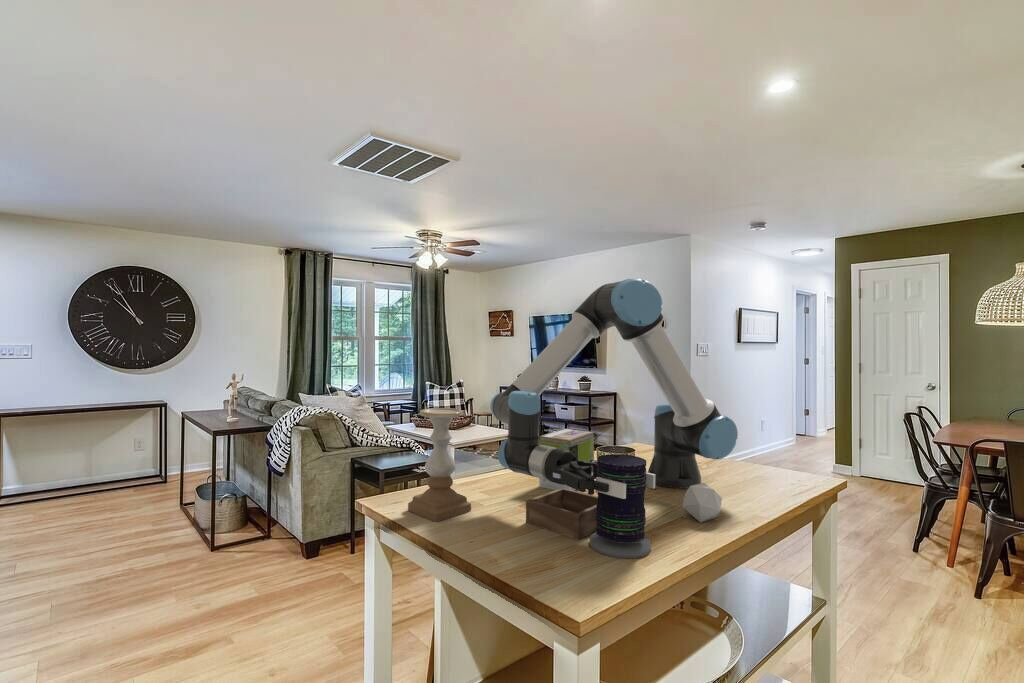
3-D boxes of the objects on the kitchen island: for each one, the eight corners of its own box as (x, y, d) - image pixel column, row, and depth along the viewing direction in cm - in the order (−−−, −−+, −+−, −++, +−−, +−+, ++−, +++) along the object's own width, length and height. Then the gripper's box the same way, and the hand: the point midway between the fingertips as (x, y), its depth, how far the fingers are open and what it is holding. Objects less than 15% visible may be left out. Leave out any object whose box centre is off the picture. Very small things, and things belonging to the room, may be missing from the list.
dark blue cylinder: (654, 541, 99) (656, 464, 99) (606, 545, 97) (608, 466, 97) (632, 523, 109) (633, 453, 109) (588, 526, 107) (589, 454, 107)
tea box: (564, 476, 156) (565, 427, 156) (594, 482, 150) (595, 431, 150) (537, 487, 144) (538, 434, 144) (569, 494, 138) (570, 439, 138)
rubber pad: (608, 530, 112) (609, 525, 112) (661, 545, 104) (661, 540, 104) (578, 546, 103) (578, 541, 103) (633, 564, 95) (633, 559, 95)
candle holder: (406, 510, 122) (408, 410, 122) (442, 500, 130) (444, 406, 130) (435, 522, 115) (437, 415, 115) (472, 510, 123) (474, 411, 123)
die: (699, 512, 127) (677, 481, 126) (732, 502, 122) (708, 469, 121) (695, 534, 120) (671, 502, 119) (729, 524, 115) (704, 490, 115)
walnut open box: (561, 508, 126) (562, 487, 126) (612, 522, 117) (612, 500, 117) (525, 522, 115) (526, 500, 115) (578, 539, 106) (578, 515, 106)
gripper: (584, 473, 124) (668, 494, 108) (518, 490, 108) (605, 518, 92) (584, 441, 124) (669, 458, 108) (518, 455, 108) (606, 476, 92)
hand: (640, 486), depth 100 cm, fingers closed on dark blue cylinder, 10 cm apart
